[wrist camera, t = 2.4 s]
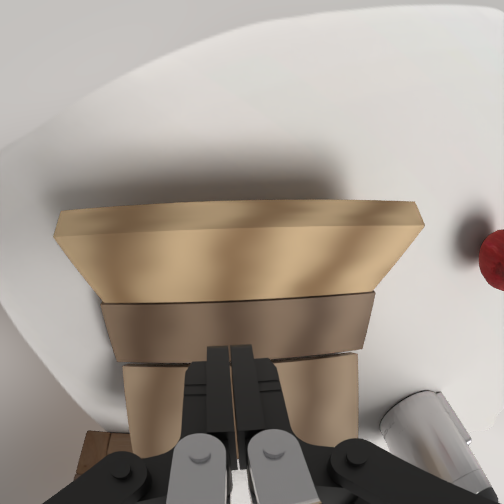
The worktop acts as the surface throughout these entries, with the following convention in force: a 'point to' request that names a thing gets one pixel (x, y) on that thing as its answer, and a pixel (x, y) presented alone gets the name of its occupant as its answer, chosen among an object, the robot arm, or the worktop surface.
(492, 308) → the worktop surface
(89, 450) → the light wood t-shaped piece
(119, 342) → the mating board
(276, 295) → the oak plank near
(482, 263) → the onion
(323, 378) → the oak plank far
